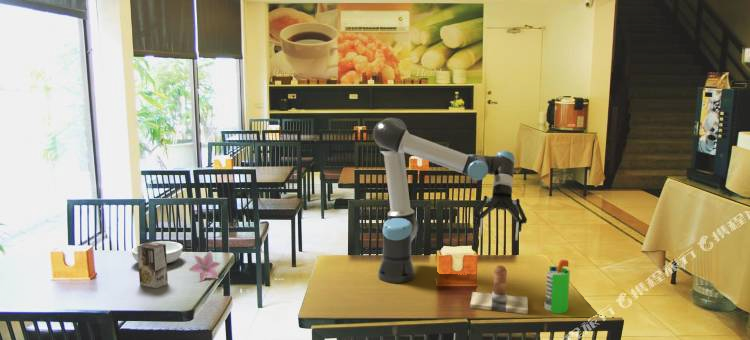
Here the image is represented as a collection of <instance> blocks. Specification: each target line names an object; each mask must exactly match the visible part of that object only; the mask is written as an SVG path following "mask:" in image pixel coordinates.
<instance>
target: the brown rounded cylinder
mask: <svg viewBox="0 0 750 340" xmlns="http://www.w3.org/2000/svg"><path fill="white" fill-rule="evenodd" d="M507 272H508V271H507V268H506V267H505V266H504V265H497V266H496V267H495V268H494V272H493V290H492V292H491V294H492V301H493V302H495V303H505V302H506V300H507V295H508V293H507V274H508V273H507Z"/></svg>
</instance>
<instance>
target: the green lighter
mask: <svg viewBox="0 0 750 340" xmlns="http://www.w3.org/2000/svg"><path fill="white" fill-rule="evenodd" d="M557 265H558V266H552V265H551V266H549V270H548V271H547V272H546V283H545V284H546V285H545V288H546V289H545V297H546V298H547V299H545V300H544V308H545V310H547V311H550V313H551V314H563V313H566V312H567V311H569V295H570V294H569V291H570V270H569V269H568V268H569V260H567V259H561V260H560V261H559V263H558V264H557ZM565 267H568V268H565Z"/></svg>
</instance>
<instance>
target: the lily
mask: <svg viewBox="0 0 750 340" xmlns="http://www.w3.org/2000/svg"><path fill="white" fill-rule="evenodd" d="M213 257H214V256H213V252H212V251H211V250H209V251H208V252H207V253H206V254H205V255H204V257H200V256H198V255H194V259H195V262H196V263H195V264H194V265H192V266H191V267H190V268H189V269H188V271H190V272H192V273H198V274H199V280H200V282H203V281H204V280H205V279H206V278H207V276H209V277H211V278H213V279H216V280H218V279H219V275H218V272H217V271H216V268H218V267H219V266H220V265H221V263H220V262H218V261H214V260H213V259H214V258H213Z"/></svg>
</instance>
